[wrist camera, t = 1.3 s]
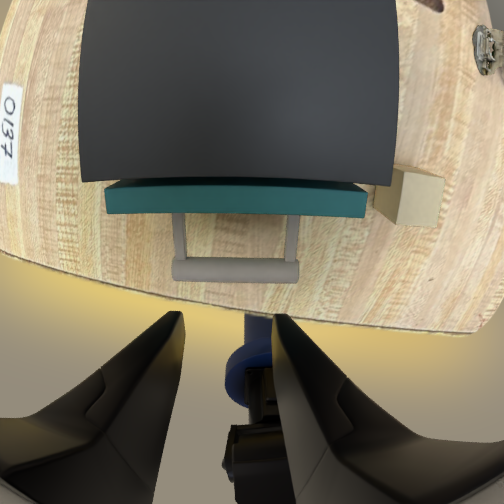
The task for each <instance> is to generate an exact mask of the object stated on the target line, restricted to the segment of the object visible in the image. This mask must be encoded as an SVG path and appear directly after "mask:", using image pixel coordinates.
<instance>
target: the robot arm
mask: <svg viewBox="0 0 504 504" xmlns="http://www.w3.org/2000/svg"><path fill="white" fill-rule="evenodd" d="M184 344H185V326H184V319H183V313H182V312H180V311H169V312H167V313H166V314H165V315H164V316H162V317H161V318H160V319H159V320H157V321H156V322H155V323H154V324H153V325H151V326H150V327H149V328H148V329H146V330H145V331H144V332H143V333H142V334H140V335H139V336H138V337H137V338H136V339H134V340H133V341H132V342H131V343H129V344H128V345H127V346H126V347H125V348H123V349H122V350H121V351H120V352H119V353H117V354H116V355H115V356H114V357H112V358H111V359H110V360H109V361H108V362H106V363H105V364H104V365H103V366H101V369H98V370H96V371H95V372H94V373H93V374H92V375H90V376H89V377H88V378H87V379H86V380H84V381H83V382H81V383H80V384H79V385H77V386H76V387H75V388H73V389H72V390H70V391H69V392H67V393H66V394H64V395H63V396H61V397H60V398H58V399H57V400H55V401H54V402H52V403H51V404H49V405H48V406H46V407H45V408H43V409H41V410H40V411H38V412H37V413H35V414H33V415H30V416H28V417H23V418H0V504H152V502H153V497H154V491H155V486H156V482H157V477H158V472H159V467H160V462H161V458H162V453H163V449H164V444H165V440H166V436H167V431H168V426H169V423H170V418H171V414H172V409H173V406H174V402H175V398H176V394H177V390H178V385H179V381H180V375H181V368H182V359H183V352H184ZM272 361H273V367H247V368H246V369H245V396H244V403H245V404H246V405H249V424H248V425H231V429H230V432H229V434H228V440H227V445H226V451H225V456H224V459H223V461H222V467H223V469H225V470H226V471H227V474H228V478H229V480H230V482H232V483H233V482H234V489H235V500H236V502H237V503H238V504H504V440H503V441H499V442H493V443H477V442H460V441H448V440H438V439H431V438H426V437H423V436H420V435H418V434H416V433H414V432H413V431H411V430H410V429H408V428H407V427H406V426H404V425H403V424H402V423H400V422H399V421H398V420H397V419H395V418H394V417H393V416H391V415H390V414H388V413H387V412H386V411H385V410H384V409H382V408H381V407H380V406H379V405H377V404H376V403H375V402H374V401H373V400H371V399H370V398H369V397H368V396H367V395H366V394H365V393H363V392H362V390H360V389H359V388H358V387H357V386H356V385H355V384H354V383H353V382H352V381H351V380H350V379H349V378H347V376H346V375H345V374H344V373H343V372H342V371H341V370H340V368H338V366H337V365H335V363H334V362H333V361H332V360H331V359H330V358H329V357H328V356H327V355H326V354H325V353H324V352H323V351H322V350H321V349H320V348H319V347H318V346H317V345H316V344H315V343H314V342H313V341H312V339H310V337H309V336H308V335H307V334H306V333H305V332H304V331H303V330H302V329H301V328H300V327H299V326H298V325H297V324H296V323H295V322H294V321H293V320H292V319H291V317H290V316H289V315H288V314H274V316H273V324H272ZM249 371H251V372H249Z"/></svg>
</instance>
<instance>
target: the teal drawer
mask: <svg viewBox="0 0 504 504" xmlns="http://www.w3.org/2000/svg"><path fill="white" fill-rule="evenodd" d="M104 192H105V201H106V210H107V214H137V213H172V224H173V237H174V249H175V257H174V258H173V260H172V267H171V272H172V278H173V280H174V281H191V282H228V283H297V282H298V279H299V262H298V259H296V253H297V243H298V232H299V221H300V215H307V216H330V217H349V218H364V217H365V210H366V203H367V196H368V192H366V191H364V190H363V189H361V188H360V187H358V186H357V185H355V184H353V183H348V182H336V181H323V180H308V179H289V178H265V177H164V178H140V179H122V180H120V181H118V182H116V183H114V184H112V185H110V186H109V187H107V188H105V189H104ZM185 213H237V214H279V215H287V224H286V237H285V250H284V258H230V257H187V243H186V226H185Z"/></svg>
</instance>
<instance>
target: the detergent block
mask: <svg viewBox="0 0 504 504" xmlns="http://www.w3.org/2000/svg"><path fill="white" fill-rule="evenodd" d="M444 186H445V178H443V177H440V176H438V175H435V174H433V173H430V172H427V171H425V170H422V169H419V168H416V167H410V166H404V165H398V164H394V166H393V174H392V182H391V186H390V187H387V186H379V185H376V190H375V197H374V204H373V208H375V209H376V210H377V211H379V212H380V213H381V214H383V215H384V216H385V217H386V218H388V219H389V220H390V221H391V222H393V223H394V224H395V225H403V226H417V227H430V228H436V227H437V222H438V218H439V213H440V208H441V203H442V197H443V192H444Z"/></svg>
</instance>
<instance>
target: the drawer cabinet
mask: <svg viewBox="0 0 504 504" xmlns="http://www.w3.org/2000/svg"><path fill="white" fill-rule="evenodd" d="M398 103H399V41H398V24H397V11H396V1H395V0H88V3H87V9H86V15H85V21H84V28H83V35H82V44H81V54H80V66H79V85H78V136H79V155H80V168H81V179H82V182H95V181H107V180H122V179H140V178H164V177H265V178H289V179H308V180H323V181H336V182H348V183H359V184H369V185H379V186H387V187H390V186H391V182H392V174H393V166H394V157H395V147H396V136H397V122H398Z"/></svg>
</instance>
